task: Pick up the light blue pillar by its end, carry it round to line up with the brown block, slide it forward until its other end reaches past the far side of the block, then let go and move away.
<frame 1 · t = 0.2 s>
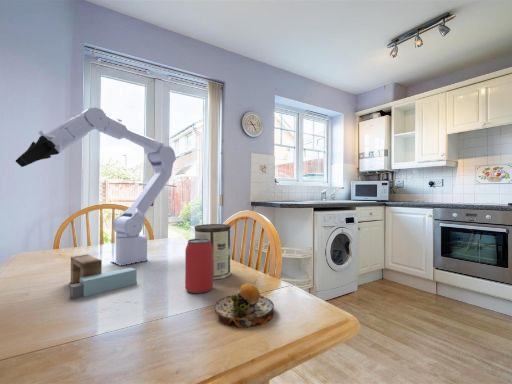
hand: (21, 162, 70), 31 cm above the table, tool tilted 50°, fingers open, 7 cm apart
plated food dish: (244, 315, 52), on the table
beer can: (199, 290, 65), on the table
brown block: (85, 284, 68), on the table
light blue pillar: (109, 288, 66), on the table
coffee can: (212, 275, 77), on the table
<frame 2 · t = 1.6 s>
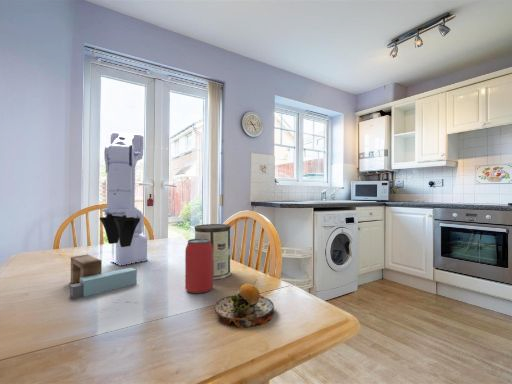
hand: (119, 244, 68), 10 cm above the table, tool pointing down, fingers open, 7 cm apart
nothing on the table moved.
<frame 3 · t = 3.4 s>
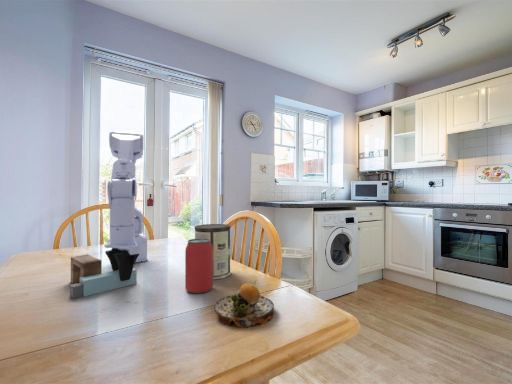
hand: (122, 278, 68), 2 cm above the table, tool pointing down, fingers closed on light blue pillar, 3 cm apart
light blue pillar: (109, 288, 66), on the table, touching gripper
everything else where it was.
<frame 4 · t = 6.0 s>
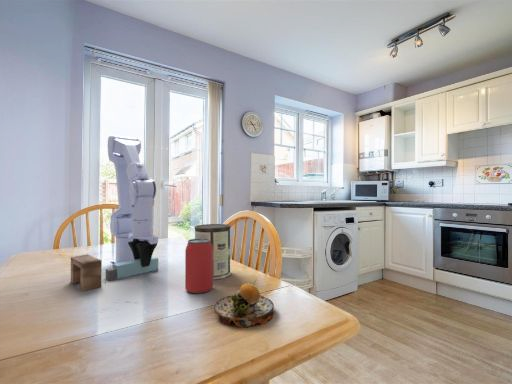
hand: (142, 265, 80), 2 cm above the table, tool pointing down, fingers closed on light blue pillar, 3 cm apart
light blue pillar: (136, 273, 78), on the table, touching gripper
everything else where it was.
when the fingers open (2 cm above the table, at t = 9.0 s): light blue pillar stays where it is, on the table.
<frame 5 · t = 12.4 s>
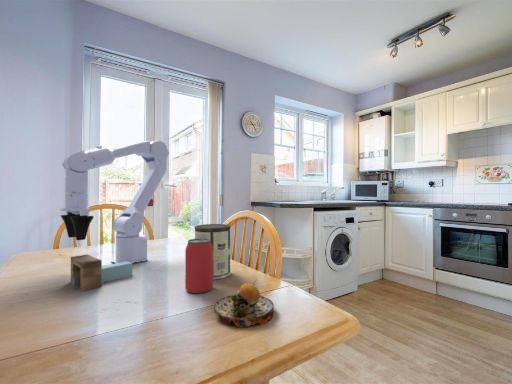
hand: (76, 238, 80), 10 cm above the table, tool pointing down, fingers open, 7 cm apart
light blue pillar: (107, 279, 72), on the table
everything else where it was.
at the end: light blue pillar 2.7 cm from the target spot, on the table; the gripper is holding nothing; light blue pillar tilted 0° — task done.
